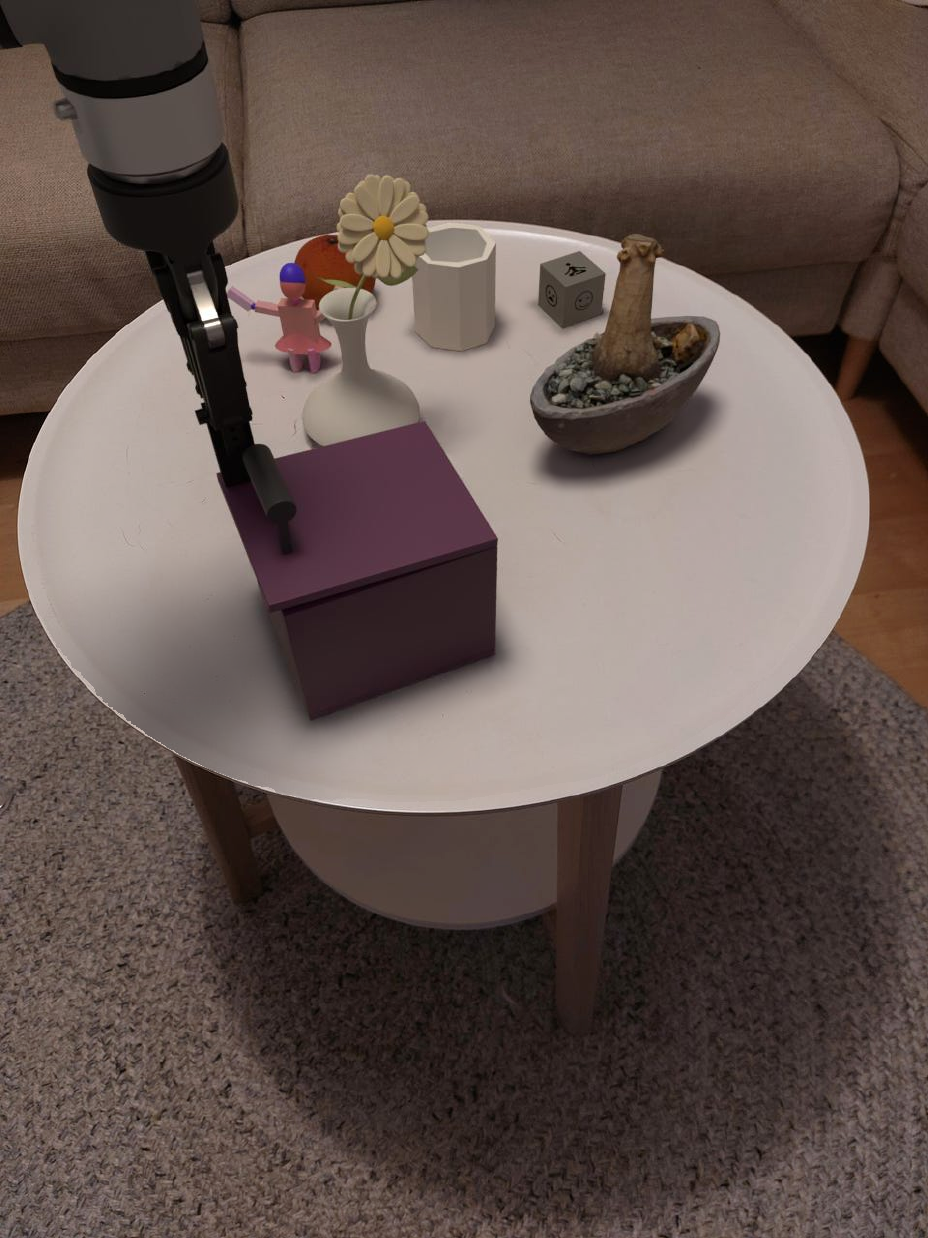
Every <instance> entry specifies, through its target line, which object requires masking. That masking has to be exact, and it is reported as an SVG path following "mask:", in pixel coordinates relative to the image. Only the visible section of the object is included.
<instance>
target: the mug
mask: <svg viewBox="0 0 928 1238" xmlns="http://www.w3.org/2000/svg"><path fill="white" fill-rule="evenodd" d="M427 229H428V230H429V236H428V238H427V239H425V248H426V251H425V254H424V255H422V256H418V259H417V260H416V264H415V267H416V268H417V269H418V271H417V272H416V273H415V274H414V275H413V276H412V277H411V280H412V297H413V312H414V315H413V316H414V327H415V329H414V330H415V333H416V335H418V336H419V337H420V338H421V339H422V340H423V341H425V343H427V344H428V345H429V347H431V348H434V349H441V350H448V351H454V352H455V351H456V352H463V351H466V350H470V349H473V348H476V347H479V346H484V345H485V344H488V343H489V342H488V341H489V339H490V337H491V336H492V334H493V331H494V329H495V327H496V273H497V272H496V267H497V266H496V264H497V261H496V260H497V242H496V241H495V240H494V239H493V238H492V237H491V236H490V235H489V234H488V233H487V231H486V230H484V229H483V228H482V227H481V226H480V225H474V224H468V223H467V224H466V223H460V222H454V221H450V222H447V223H442V224H439V225H435V226H431V227H428V228H427Z"/></svg>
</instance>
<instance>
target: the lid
mask: <svg viewBox="0 0 928 1238" xmlns="http://www.w3.org/2000/svg"><path fill="white" fill-rule="evenodd" d="M242 459H243V462H244V465H245V467H246V469H247V472H248V474H249V476H250V479H251V480H250V481H246V482H243V483H240V484H236V485H233V486H230V487H226V486H225V483H224V481H223V478H222V476H221V472H220V471H219V472H216V478H217V482H218V484H219V487H220V490H221V492H222V495H223V497H224V500H225V502H226V505H227V508H228V510H229V512H230V515H231V518H232V520H233V523H234V525H235V528H236V530H237V533H238V535H239V538H240V541H241V542H242V543H241V544H242V545H243V548H244V551H245V553H246V556H247V559H248V561H249V564H250V566H251V568H252V571H253V574H254V576H255V578H256V582H257V581H258V582H257V585H258V584H259V586H260V589H261V591H262V594H263V596H264V599H265V601H266V604H267V606H268V609H269V611H270V613H272V612H275V611H279V610H282V609H286V608H289V607H292V606H296V605H299V604H303V603H306V602H309V601H313V600H316V599H320V598H323V597H326V596H330V595H333V594H336V593H340V592H343V591H347V590H350V589H353V588H357V587H360V586H364V585H367V584H370V583H374V582H377V581H381V580H384V579H387V578H391V577H394V576H398V575H401V574H404V573H408V572H411V571H414V570H418V569H421V568H425V567H428V566H431V565H435V564H438V563H442V562H445V561H448V560H452V559H455V558H459V557H462V556H465V555H469V554H472V553H475V552H479V551H482V550H486V549H489V548H492V547H496V546H497V547H498V544H499V543H498V542H499V541H498V540H499V538H498V536H497V534H496V533H495V531H494V530H493V528H492V527H491V525H490V523H489V521H488V520H487V519H486V517H485V515H484V513H483V512H482V510H481V508H480V507H479V505H478V503H477V502H476V500H475V499H474V497H473V496H472V494H471V492H470V491H469V489H468V488H467V486H466V485H465V482H464V481H463V480H462V478H461V476H460V474H459V473H458V471H457V470H456V468H455V467H454V464H453V463H452V462H451V460H450V458H449V457H448V455H447V454H446V452H445V450H444V449H443V447H442V446H441V444H440V443H439V441H438V439H437V438H436V436H435V434H434V433H433V431H432V429H431V427H430V426H429V424H428V422H427V421H426V420H423V421H418V422H417V423H414V424H410V425H406V426H402V427H398V428H394V429H390V430H386V431H382V432H378V433H374V434H370V435H366V436H362V437H358V438H354V439H350V440H346V441H342V442H338V443H334V444H330V445H326V446H319V447H314V448H311V449H307V450H304V451H303V450H302V451H298V452H295V453H291V454H287V455H284V456H283V455H282V456H278V457H274V455H273V452H272V449H271V448H270V447H269V446H267V445H266V444H263V443H255V444H254V445H251V446H249V447H248V448H247V449H246V450H245V451H244V453H243V456H242ZM259 586H258V587H259ZM260 589H259V590H260Z"/></svg>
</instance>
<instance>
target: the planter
mask: <svg viewBox="0 0 928 1238" xmlns="http://www.w3.org/2000/svg"><path fill="white" fill-rule="evenodd" d="M620 246H621V247H620V248H621V250H619V251H617V255H616V260H617V261H618V262H619V272H618V274H617V278H616V281H615V286H614V292H613V297H612V302H611V306H610V310H609V314H608V318H607V322H606V325H605V329H604V332H601V333H599V331H596V332H595V333H594V334H593V337H592V338H587V339H586V340H584V341H582V342H581V343H579V344H578V345H576V346H573V347H571V348H570V349H569V350H568V351H566V352H565V353H563V354H562V355H561V356H559V357H558V358H557V359H556V360H555V362H554V363H553V364H551V365H549V366H547V367H546V368H545V369H544V371H543V373H541V375H540V376H539V377H538V379H537V380H536V382H535V383H534V385H533V387H532V389H531V392H530V394H529V403H530V404H529V405H530V409H531V411H532V414H533V418H534V420H535V421H536V423H537V425H538V427H539V428H540V429H541V431H542V432H543V433H544V435H545V436H546V437H547V438H548V439H549V440H551V441H552V442H553V443H555V444H556V445H558V446H559V447H562V448H564V449H567V450H570V451H575V452H578V453H579V454H581V455H601V454H602V455H603V454H608V453H613V452H616V451H620V450H623V449H626V448H629V447H631V446H634V445H635V444H637V443H639V442H641V441H644V440H646V439H647V438H648V437H650V436H652V435H653V434H654V433H656V432H659V431H660V430H661V429H663V428H665V427H666V426H667V425H668V424H669V423H671V421H672V420H673V419H674V418H675V417H676V416H677V415H678V413H679V412H681V410H682V409H683V408H684V407H685V406H686V404H687V403H688V402H689V401H690V400H691V399H692V398H693V396H694V394H695V392H696V391H697V390H698V388H699V387H700V385H701V383H702V381H703V380H704V378H705V377H706V375H707V374H708V371H709V370H710V367H711V365H712V363H713V362H714V359H715V356H716V354H717V351H718V349H719V346H720V343H721V341H720V340H721V331H720V326H719V324H718V322H717V321H716V320H714V319H712V318H709V317H707V316H698V315H697V316H695V315H680V316H664V317H662V316H661V317H653V318H652V309H653V296H654V280H655V279H654V278H655V270H656V269H655V267H656V262H657V259H661V258H662V257H663V252H664V251H665V249H662V245H661V244H660V243H659V242H658V240H656V239H655V238H654V237H649V236H645V235H643V234H637V233H632V234H629V235H627V236H625V237H624V238H623V239H622V241H621V242H620Z"/></svg>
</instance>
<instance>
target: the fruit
mask: <svg viewBox="0 0 928 1238" xmlns="http://www.w3.org/2000/svg"><path fill="white" fill-rule="evenodd" d="M338 243H339V241H338V234H323V235H320V236H316V237H314V238H312V239H309V240H308V241H307V242H306V243H304V244H303V245H302V246H301V247H300V249H298V251H297V254H296V256H295V259H294V261H293V263H295V264H297V265H298V266H299V267H300V268H301V269H302V270H303V272H304V275H305V291H304V294H303V295H302V296H301V299H308V300H315V306H316V311H318V310H319V303H320V301H321V299H322V298H323V297H324V296H325V295H326V294H328V293H330V292H332V291H333V290H334V287H335V286H334V285H331V284H329V283H327V282H325V281H321V280H319V279H318V278H317V276H318V277H320V278H321V279H324V280H339V281H344V282H347V283H349V284H351V285H353V286H355V287H357V286H358V284H359V282H360V280H361V278H362V276H363V274H361V275H360V274H357V273H356V271H355V268H354V266H355V263H349V262H348V261H347V260H346V253H342V252H340V251H339V249H338ZM316 275H317V276H316ZM376 281H377V278H373V277H372V276H371V277H366V279H365V281H364V283H363V285H362V287H361V289H363V290H366V291H368V292H370V293H371V294H372V293H373V292H374V290H375V288H376V287H375V286H376ZM344 288H346V287H344ZM372 295H373V294H372Z"/></svg>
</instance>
